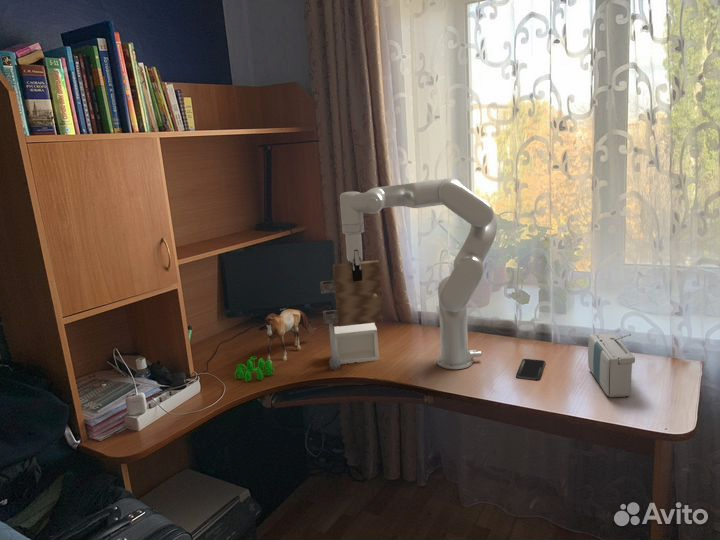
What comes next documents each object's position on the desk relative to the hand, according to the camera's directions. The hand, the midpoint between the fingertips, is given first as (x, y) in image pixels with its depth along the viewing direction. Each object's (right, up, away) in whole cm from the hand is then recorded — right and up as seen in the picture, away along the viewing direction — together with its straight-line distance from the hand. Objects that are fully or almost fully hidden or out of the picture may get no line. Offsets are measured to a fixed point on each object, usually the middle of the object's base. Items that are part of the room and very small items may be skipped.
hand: (357, 279), depth 202 cm
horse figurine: (-24, -30, +22) cm, 45 cm away
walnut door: (-1, -16, +4) cm, 16 cm away
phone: (+59, -31, -7) cm, 67 cm away
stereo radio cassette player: (+80, -33, -20) cm, 89 cm away
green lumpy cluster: (-37, -35, +7) cm, 52 cm away
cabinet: (-1, -31, +12) cm, 33 cm away
